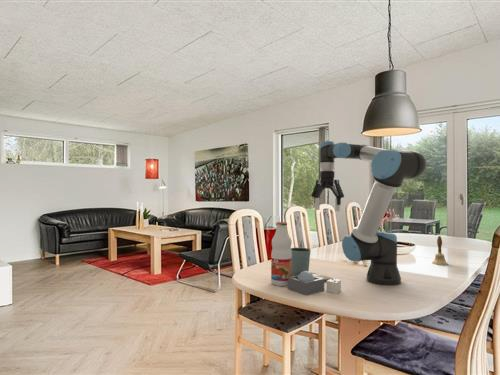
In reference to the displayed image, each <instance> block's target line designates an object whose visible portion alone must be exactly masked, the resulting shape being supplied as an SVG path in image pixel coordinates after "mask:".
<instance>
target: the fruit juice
mask: <svg viewBox="0 0 500 375" xmlns="http://www.w3.org/2000/svg"><path fill="white" fill-rule="evenodd" d="M287 226H288V223H287V222H286V221H277V222H276V230H275V233H274V235H273V237H272V239H271V246H272V248H271V249H272V250H271V253H270V254H271V256H270V257H271V260H270V262H271V263H270V264H271V267H270V271H271V272H270V273H271V274H270V275H271V276H270V278H271V280H270V281H271V284H272V285H273V286H275V287H288V277H292V251H291V247H292V242H293V241H292V238H291V237H290V235H289V233H288V229H287Z"/></svg>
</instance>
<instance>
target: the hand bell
mask: <svg viewBox="0 0 500 375" xmlns="http://www.w3.org/2000/svg"><path fill="white" fill-rule="evenodd" d="M436 245H437V253H435V257H434V259H433V261H432V262H431V264H433V265H435V264H436V266H448V265H449V264H448V262H447V260H446V258H445V254H443V252H442V246H443V240H442V237H441V236H440V235H438V236H437V239H436Z"/></svg>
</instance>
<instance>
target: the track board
mask: <svg viewBox="0 0 500 375" xmlns="http://www.w3.org/2000/svg"><path fill="white" fill-rule="evenodd" d="M309 272H310V273H311V274H312V275H313V276H316V277H320V278H323V279H324V283H327V280H329V279H334V278H333V277H330V276H327V275H323V274H319V273H316V272H311V271H309ZM292 276H297V275H294V274H292Z"/></svg>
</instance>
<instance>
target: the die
mask: <svg viewBox="0 0 500 375" xmlns="http://www.w3.org/2000/svg"><path fill="white" fill-rule="evenodd" d="M326 292H328V293H331V294H332V293H333V294H338V293H339V292H342V280H341V279H336V278H333V279H329V280H327V282H326Z"/></svg>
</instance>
